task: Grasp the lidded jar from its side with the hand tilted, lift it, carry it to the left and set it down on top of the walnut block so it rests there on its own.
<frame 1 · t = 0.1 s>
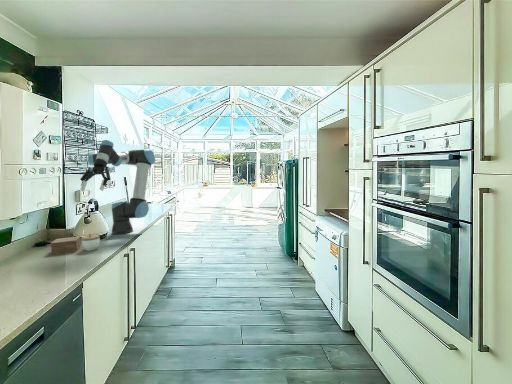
hand: (91, 190, 244), 36 cm above the worktop, tool tilted 35°, fingers open, 13 cm apart
walnut block: (67, 250, 244), on the worktop
lidded jar: (91, 249, 242), on the worktop
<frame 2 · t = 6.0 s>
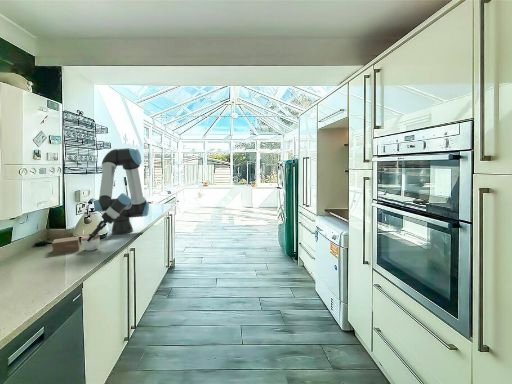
hand: (85, 243, 241), 4 cm above the worktop, tool tilted 45°, fingers closed on lidded jar, 11 cm apart
lidded jar: (91, 249, 242), on the worktop, touching gripper
when the fingers open (12 cm above the worktop, at t = 11.0 s): lidded jar drops 2 cm, resting on walnut block.
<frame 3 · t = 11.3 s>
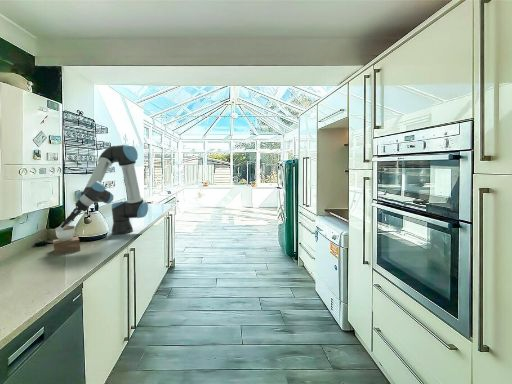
hand: (60, 229, 242), 13 cm above the worktop, tool tilted 45°, fingers open, 13 cm apart
walnut block: (67, 251, 244), on the worktop, touching lidded jar
lidded jar: (66, 240, 243), point 6 cm above the worktop, touching walnut block
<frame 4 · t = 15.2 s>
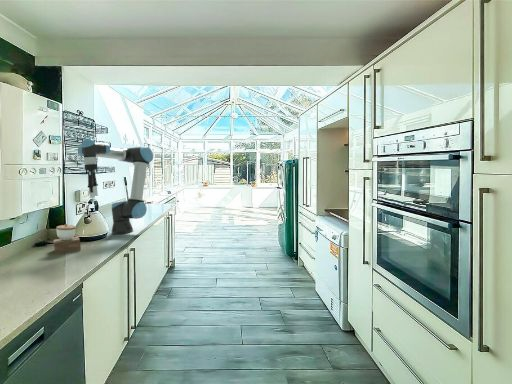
hand: (94, 196, 256), 31 cm above the worktop, tool pointing down, fingers open, 13 cm apart
at the end: lidded jar inside the target area on the walnut block (0.4 cm from its centre), point 7.0 cm above the walnut block's base; lidded jar tilted 4°; the gripper is holding nothing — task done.
